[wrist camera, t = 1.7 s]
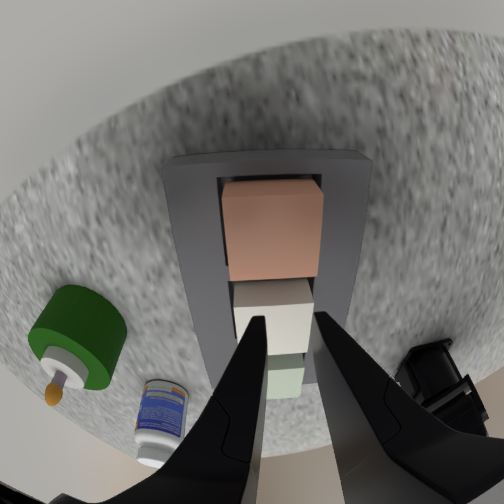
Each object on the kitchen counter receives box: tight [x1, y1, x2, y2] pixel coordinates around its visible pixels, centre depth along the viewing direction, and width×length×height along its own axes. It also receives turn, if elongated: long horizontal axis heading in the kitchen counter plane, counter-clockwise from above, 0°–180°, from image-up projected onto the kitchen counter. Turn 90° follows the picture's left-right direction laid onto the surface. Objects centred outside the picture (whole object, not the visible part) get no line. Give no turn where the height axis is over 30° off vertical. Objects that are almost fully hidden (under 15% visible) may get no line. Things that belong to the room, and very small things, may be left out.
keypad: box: [161, 149, 372, 388], centre depth 20 cm, size 11×20×3 cm, turn 3°
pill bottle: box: [134, 381, 188, 468], centre depth 25 cm, size 5×5×10 cm
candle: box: [28, 285, 127, 406], centre depth 19 cm, size 8×8×10 cm
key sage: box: [266, 353, 305, 399], centre depth 21 cm, size 5×5×2 cm
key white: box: [233, 278, 314, 355], centre depth 18 cm, size 5×5×2 cm
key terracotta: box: [222, 179, 324, 281], centre depth 15 cm, size 5×5×2 cm
